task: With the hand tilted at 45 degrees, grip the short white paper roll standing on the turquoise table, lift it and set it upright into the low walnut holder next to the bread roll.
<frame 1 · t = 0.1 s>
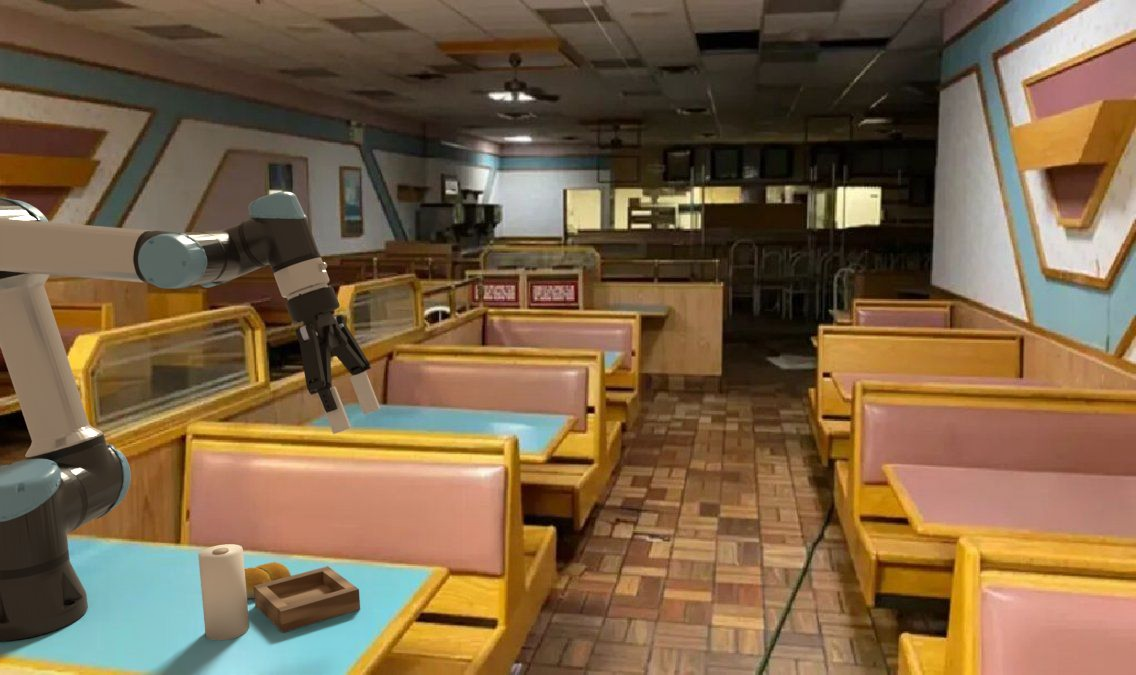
hand: (358, 421, 144), 28 cm above the table, fingers open, 13 cm apart
paper roll: (227, 630, 135), on the table
bread roll: (261, 590, 150), on the table
walnut holder: (307, 607, 142), on the table
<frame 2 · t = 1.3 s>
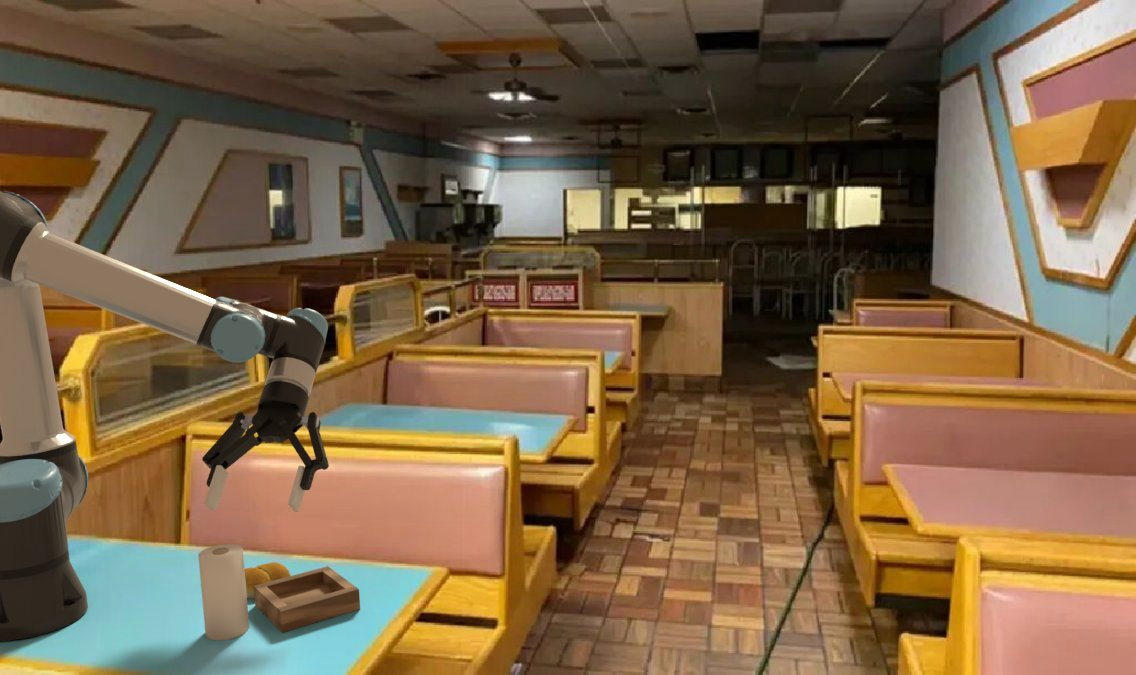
hand: (251, 507, 142), 15 cm above the table, fingers open, 13 cm apart
nothing on the table moved.
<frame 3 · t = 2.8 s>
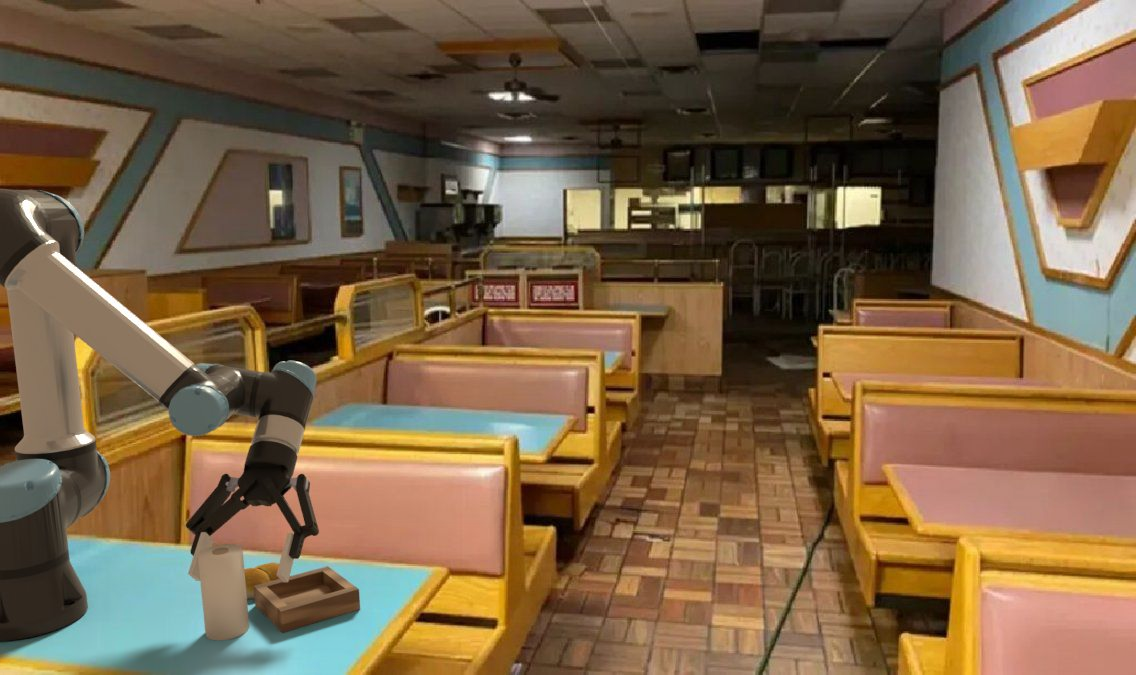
hand: (237, 578, 135), 7 cm above the table, fingers open, 13 cm apart
nothing on the table moved.
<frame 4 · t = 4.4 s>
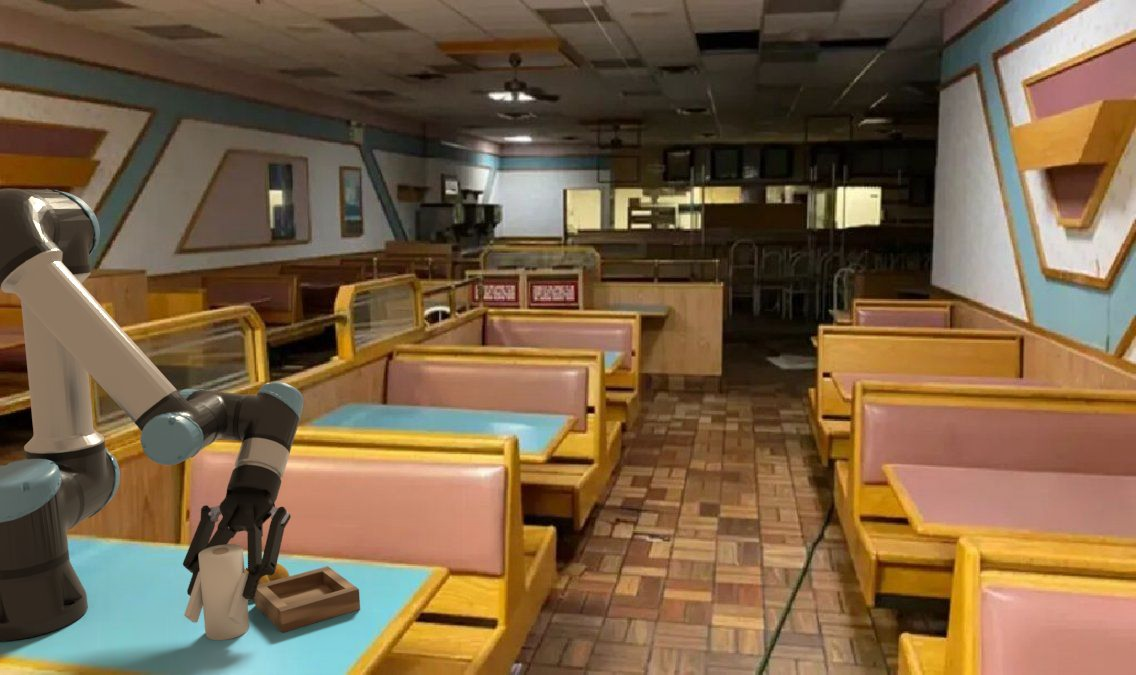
hand: (212, 619, 131), 3 cm above the table, fingers closed on paper roll, 6 cm apart
paper roll: (227, 630, 135), on the table, touching gripper
everything else where it was.
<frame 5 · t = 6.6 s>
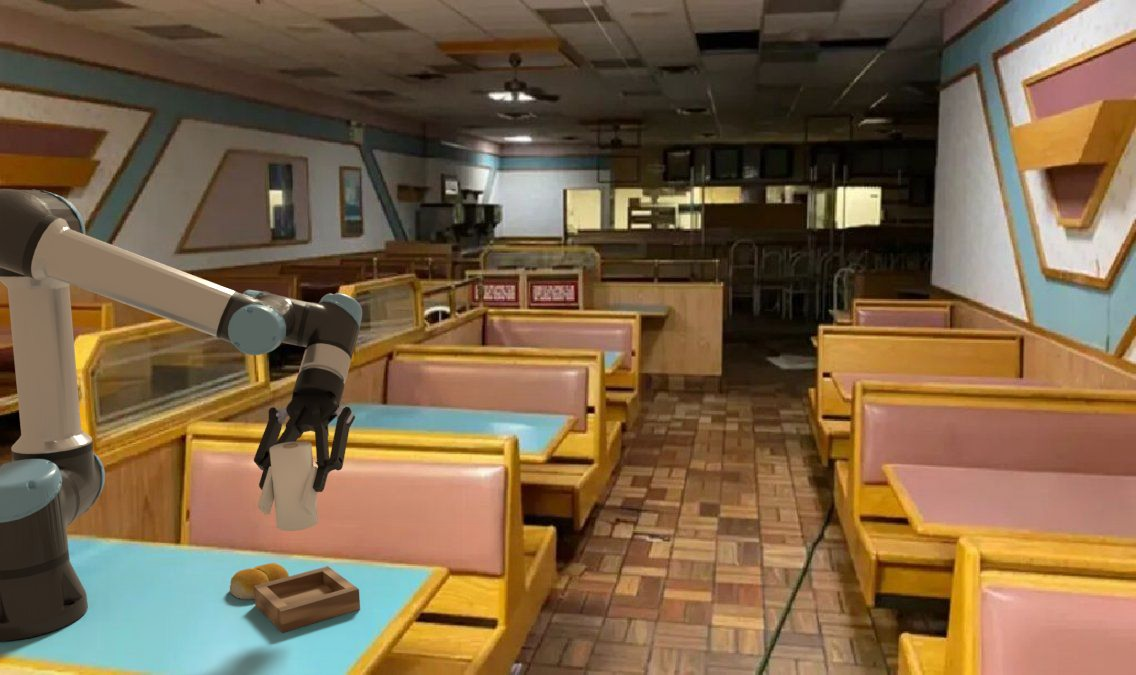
hand: (284, 510, 136), 17 cm above the table, fingers closed on paper roll, 6 cm apart
paper roll: (297, 523, 140), point 14 cm above the table, touching gripper
everything else where it was.
when the fingers open (6 cm above the table, at t = 8.9 s): paper roll drops 2 cm, resting on walnut holder.
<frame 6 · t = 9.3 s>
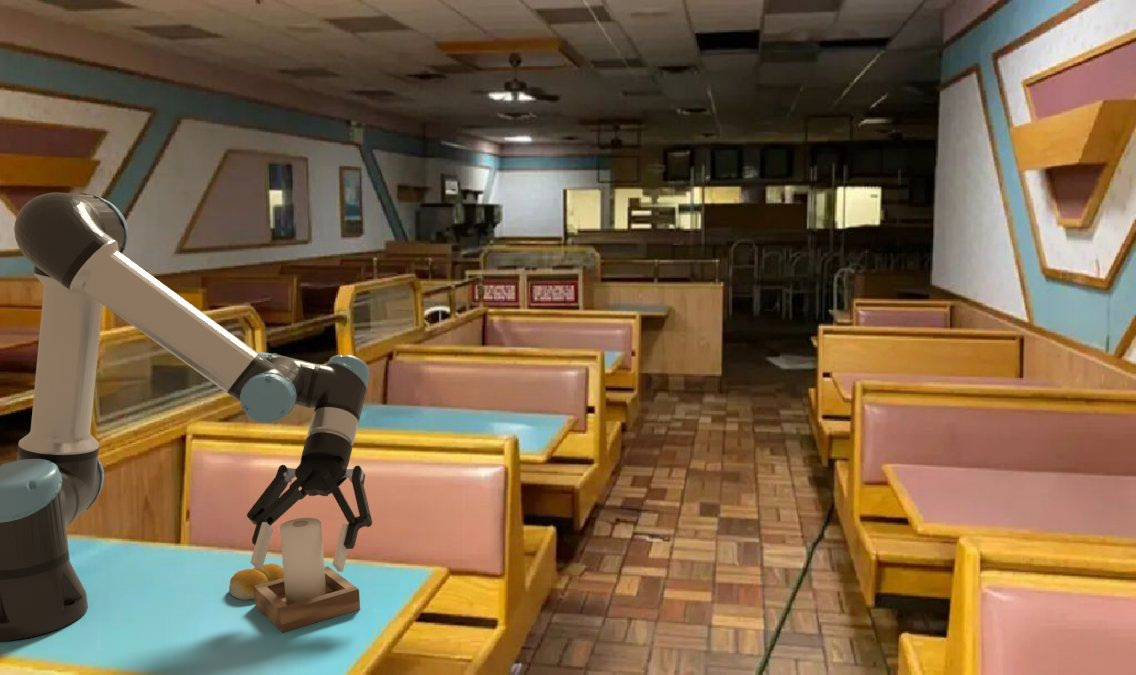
hand: (296, 567, 139), 7 cm above the table, fingers open, 12 cm apart
paper roll: (306, 599, 142), point 1 cm above the table, touching walnut holder
everything else where it was.
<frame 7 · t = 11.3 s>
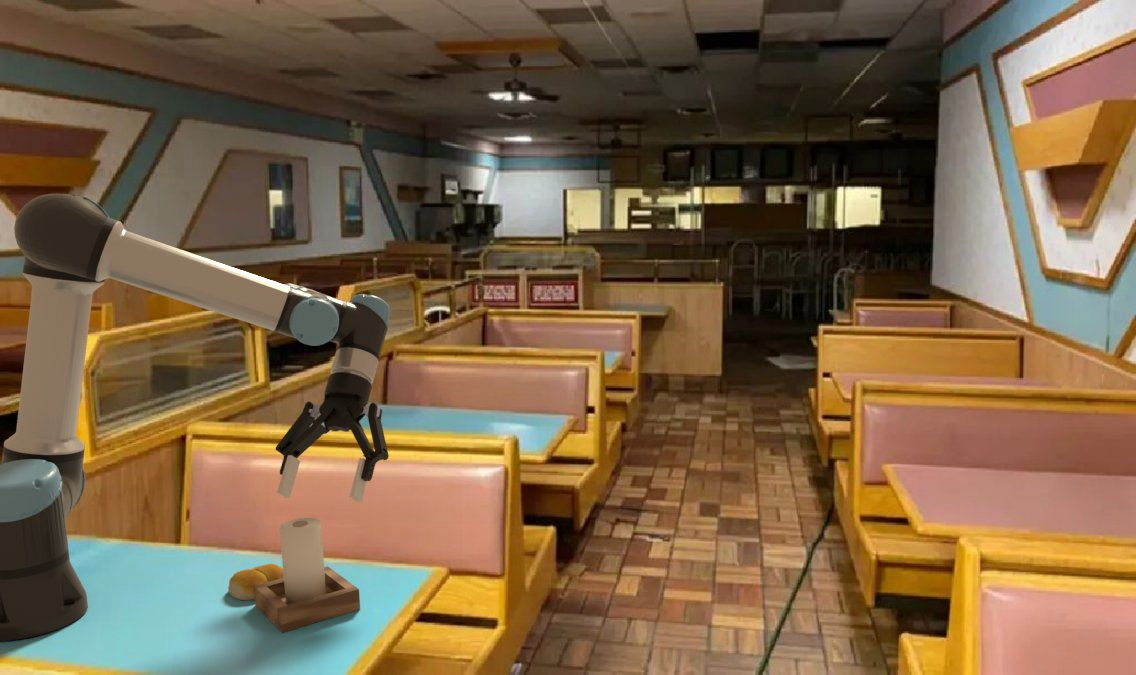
hand: (318, 497, 151), 14 cm above the table, fingers open, 13 cm apart
nothing on the table moved.
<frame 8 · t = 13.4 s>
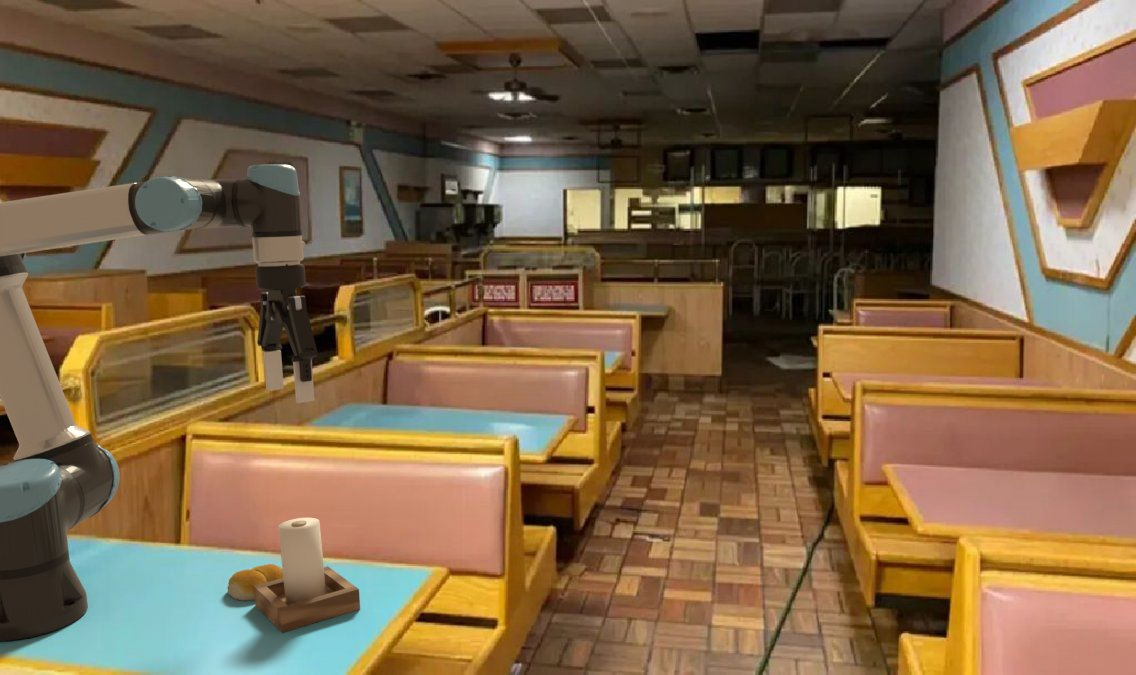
hand: (289, 395, 150), 31 cm above the table, fingers open, 13 cm apart
nothing on the table moved.
at the end: paper roll inside the target area on the walnut holder (0.1 cm from its centre), point 1.2 cm above the walnut holder's base; paper roll tilted 1°; the gripper is holding nothing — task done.
